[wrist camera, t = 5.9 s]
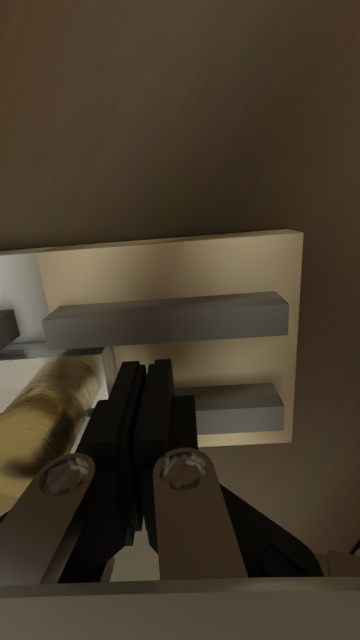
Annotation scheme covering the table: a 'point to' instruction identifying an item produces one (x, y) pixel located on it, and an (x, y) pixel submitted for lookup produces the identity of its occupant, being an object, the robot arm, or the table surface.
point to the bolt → (45, 407)
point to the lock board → (175, 318)
